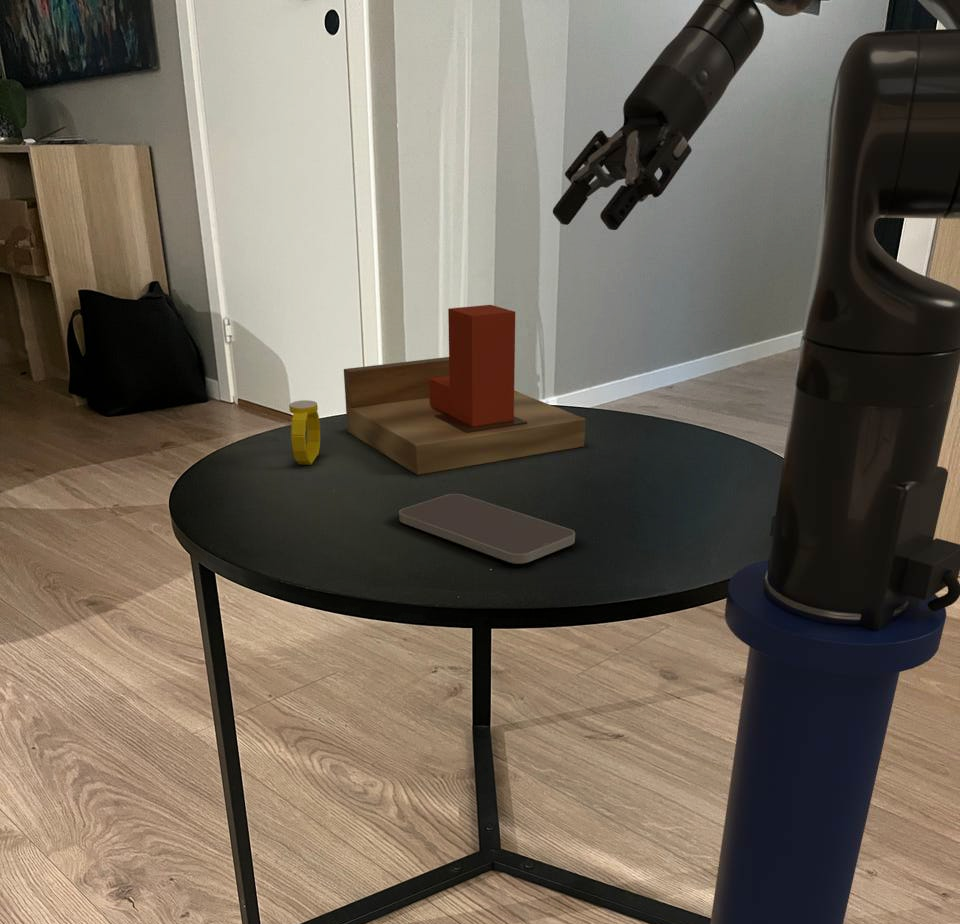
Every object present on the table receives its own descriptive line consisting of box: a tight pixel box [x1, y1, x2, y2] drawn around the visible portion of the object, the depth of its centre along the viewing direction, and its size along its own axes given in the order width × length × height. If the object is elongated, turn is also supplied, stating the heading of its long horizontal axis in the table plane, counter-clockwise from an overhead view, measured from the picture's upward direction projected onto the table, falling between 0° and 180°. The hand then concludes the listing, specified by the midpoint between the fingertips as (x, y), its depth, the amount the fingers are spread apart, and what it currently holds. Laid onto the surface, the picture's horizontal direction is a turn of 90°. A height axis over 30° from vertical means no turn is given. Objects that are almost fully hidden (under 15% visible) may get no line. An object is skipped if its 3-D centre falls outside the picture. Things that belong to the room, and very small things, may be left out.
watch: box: [288, 399, 321, 466], centre depth 100 cm, size 6×3×6 cm, turn 174°
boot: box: [429, 304, 516, 427], centre depth 103 cm, size 10×5×11 cm, turn 29°
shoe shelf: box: [343, 356, 586, 476], centre depth 107 cm, size 18×20×7 cm
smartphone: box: [398, 493, 576, 565], centre depth 83 cm, size 7×1×15 cm
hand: (581, 221), depth 100 cm, fingers open, 8 cm apart
